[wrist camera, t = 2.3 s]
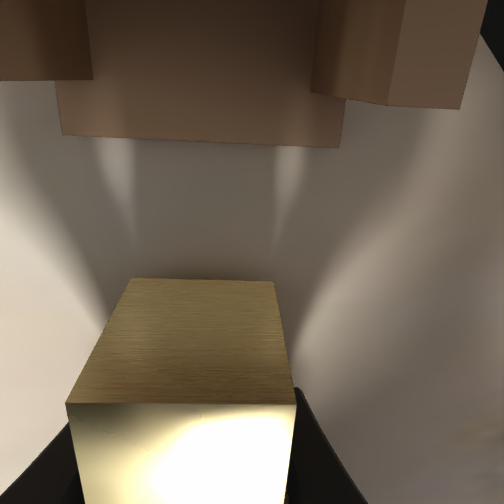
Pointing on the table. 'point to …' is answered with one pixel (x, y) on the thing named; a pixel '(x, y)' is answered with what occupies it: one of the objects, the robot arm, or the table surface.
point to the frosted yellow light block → (186, 397)
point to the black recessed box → (494, 29)
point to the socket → (237, 63)
